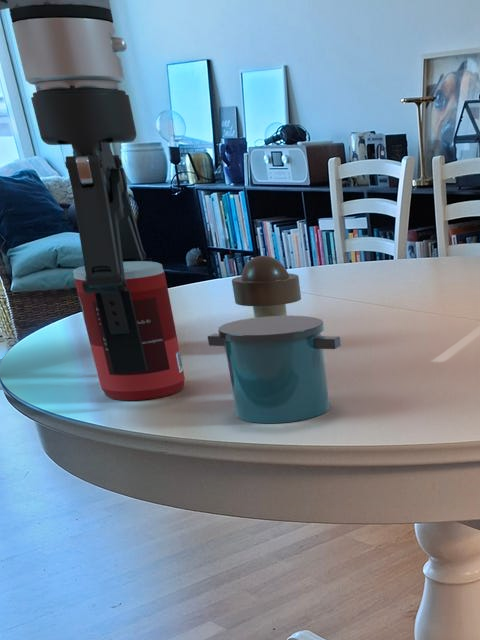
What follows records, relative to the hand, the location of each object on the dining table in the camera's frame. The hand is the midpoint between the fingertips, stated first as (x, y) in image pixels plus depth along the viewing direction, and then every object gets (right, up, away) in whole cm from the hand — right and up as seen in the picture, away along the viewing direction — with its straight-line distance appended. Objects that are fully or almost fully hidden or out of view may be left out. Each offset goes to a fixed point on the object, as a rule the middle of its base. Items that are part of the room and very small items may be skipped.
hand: (139, 356), depth 82 cm
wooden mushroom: (+9, +7, +18) cm, 21 cm away
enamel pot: (+15, -7, -6) cm, 17 cm away
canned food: (0, -3, +2) cm, 3 cm away
